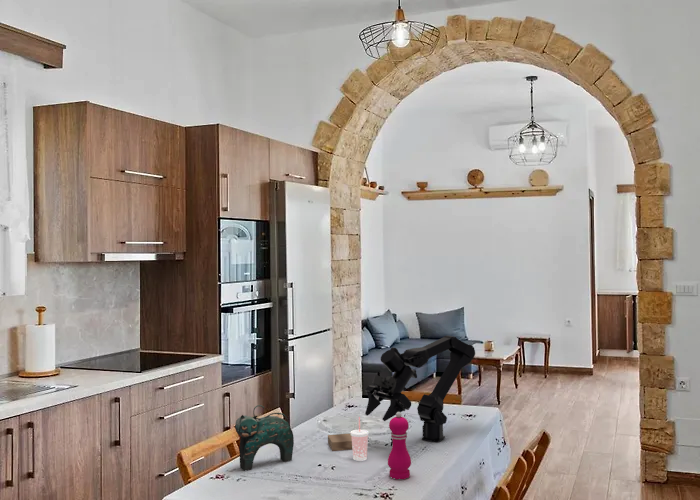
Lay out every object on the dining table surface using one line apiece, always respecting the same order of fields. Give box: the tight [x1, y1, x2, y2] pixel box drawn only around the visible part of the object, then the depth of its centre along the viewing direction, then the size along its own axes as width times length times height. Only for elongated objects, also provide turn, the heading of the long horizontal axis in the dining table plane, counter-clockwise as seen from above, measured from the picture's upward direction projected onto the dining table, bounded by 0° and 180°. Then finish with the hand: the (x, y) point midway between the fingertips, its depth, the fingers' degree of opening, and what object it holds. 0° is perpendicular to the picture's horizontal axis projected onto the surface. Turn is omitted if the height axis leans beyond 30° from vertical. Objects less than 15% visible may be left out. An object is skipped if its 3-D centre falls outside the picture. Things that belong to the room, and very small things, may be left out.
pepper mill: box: [387, 412, 412, 480], centre depth 224 cm, size 7×7×20 cm
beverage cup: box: [350, 416, 370, 462], centre depth 241 cm, size 6×6×14 cm
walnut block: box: [327, 432, 353, 452], centre depth 255 cm, size 9×9×3 cm
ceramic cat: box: [234, 404, 295, 472], centre depth 237 cm, size 20×6×20 cm, turn 122°
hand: (374, 417), depth 245 cm, fingers open, 9 cm apart
